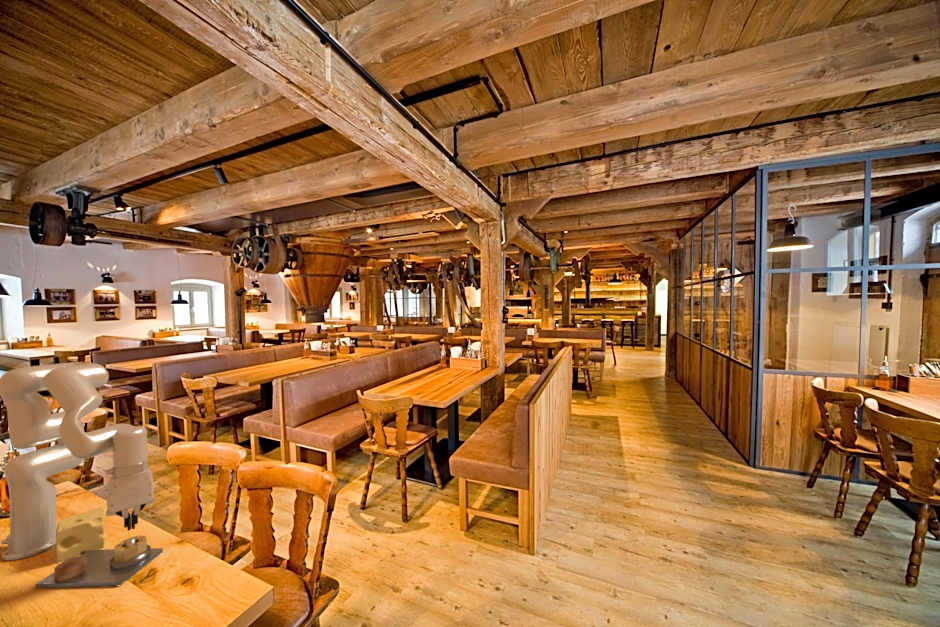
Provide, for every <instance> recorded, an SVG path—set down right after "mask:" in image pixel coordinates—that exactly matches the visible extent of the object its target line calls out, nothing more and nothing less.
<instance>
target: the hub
mask: <svg viewBox="0 0 940 627" xmlns="http://www.w3.org/2000/svg"><path fill="white" fill-rule="evenodd" d="M129 538H130V539H129ZM129 538H127V539H128V540H127V541H126V547H129V546H132V545H135V538H131V537H129ZM151 549H152V546H151V545H149V544H147V551H146V552H144V553H143V554H142V555H140V556H139V557H138V558H135V559H132V560H130V561H127V562H120V563H115V561H114V557H112V559H111V560H110V568H111V569H112V570H121V569H125V568H129V567H132V566H134V565H136V564H138V563H140V562H142V561H144V560H145V559H146V558H147V557H148V556H149V555H150V554H151Z"/></svg>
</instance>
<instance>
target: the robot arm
mask: <svg viewBox="0 0 940 627" xmlns="http://www.w3.org/2000/svg"><path fill="white" fill-rule="evenodd" d="M109 378H110V375H109V371H108V370H107V369H106V367H104V365H102V364H99V363H96V362H95V363H94V362H81V361H79V362H76V361H73V362H60V363H51V364H41V365H31V366H25V367H18V368H15V369H11V370H8V371H7V372H5V373H4V374H2V375H1V376H0V397H1V401H3V403H4V405H5V407H6V414H7V422H8V424H7V426H8V434H9V441H10V444H11V446H12V447H13V448H14V449H17V450H26V449H29V448H35V447H39V446H42V445H46V444H50V443H53V442H57V444H55V445H51V446H46V447H44V448H43V447H42V448H39V449H36V450H32V451H27V452H26V453H22V454H20V455H17V456H15V457H14V458H12V459H10V460H9V461H8V462H7V463H6V464H5V467H4V471H3V472H4V476H5V480H6V482H7V486H8V495H9V534H8V535H7V536H6V538H5V539H3V540H1V542H0V545H7V548H6V549H5V550H4V551H3V552H2V554H1V559H2V560H5V561H16V560H22V559H26V558H29V557H32V556H35V555H38V554H40V553H43V552H45V551H47V550H49V549H51V548H53V547H56V530H57V488H56V486H55V485H54V483H52V482H50V481H48V480H47V478H48V477H51V476H53V475H56V474H60V473H62V472H65V471H67V470H71V469H74V468H76V467H78V466H80V465H81V464H82V463H83V461H84V460H85V459H90V458H93V457H97V456H101V455H103V454H106V453H109V452H112V467H111V468H109V469H107V470H106V475H108V476H109V475H111V476H110V477H109V481H108V485H107V492H106V493H107V494H106V511H105V516H106V517H110V516H117V517H121V518H122V519H123V528H124V529H125V528H127V531H131V530H135V529H136V525H138V524H139V514H140V512H141V511H142V510H143V509H144V508H145V507H147V506H150V505H151V504H153V503H154V502H155V498H154V495H155V494H154V490H155V489H154V478H153V472H152V469H151V467H149V466H148V430H147V428H146V427H144V426H140V425H137V426H135V425H133V424H129V423H124V422H123V423H118V424H114V425H111V426H107V427H102V428H99V429H93V430H91V431H88V432H85V431H84V425H83V420H82V418H83V417H86V416H88V415H89V414H91V413H92V412H93V411H95V410H96V409H98V408H99V407H100V406H101V405H102V403H103V401H104V397H103V395H101V394H100V393H99V392H98V390H97V389H96V388H99V387H103V386H105V385H106V384H107V383H108V381H109ZM43 391H48V392H49V394H50V395H51V396H52V397H53V398H54V400H55V401H56V402H57V403H58V405H59V406H60V407H61V408H62V410H63V411H60V412H54V413H51V412H50V403H49V400H47V399H46V397H44V396H43V395H41V394H40V393H39V392H43ZM129 509H133V510H132V511H131V513H130V512H129Z"/></svg>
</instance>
